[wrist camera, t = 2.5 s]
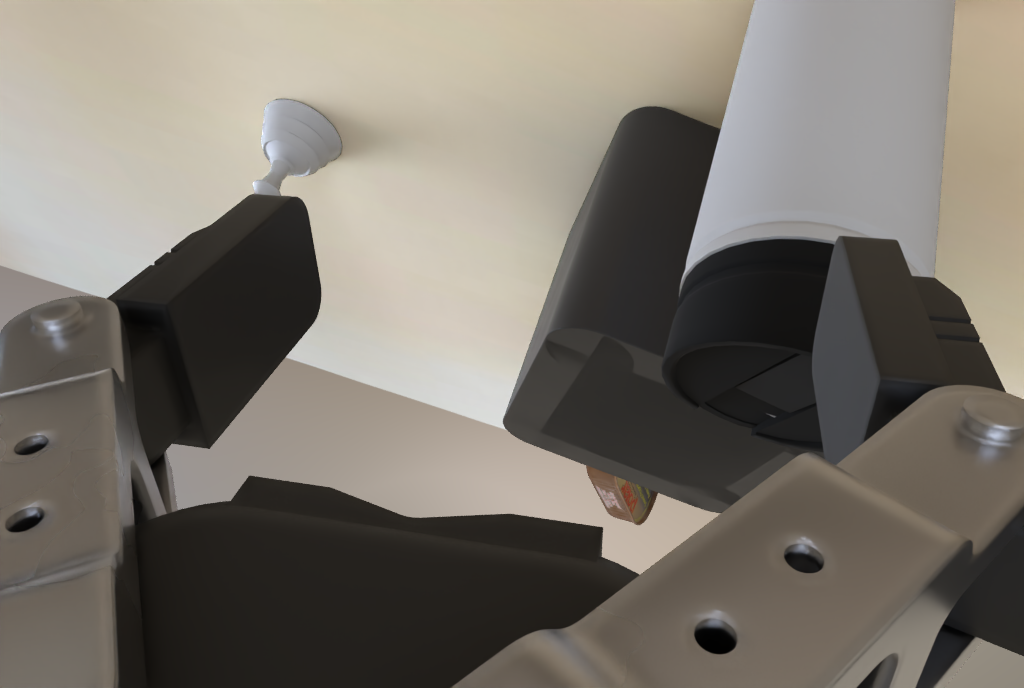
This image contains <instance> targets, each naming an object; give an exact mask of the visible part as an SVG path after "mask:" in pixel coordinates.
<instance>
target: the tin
mask: <svg viewBox="0 0 1024 688" xmlns="http://www.w3.org/2000/svg"><path fill="white" fill-rule="evenodd" d="M586 468H587V473H588V476H589V478H590V480H591V482H592V484H593V486H594V488H595V489H596V491H597V493H598V495H599V497H600V499H601V501H602V503H603V504H604V506H605V508H606V510H607V512H608V513H609V514H610V515H611V516H613V517H616V518H619V519H622V520H626V521H629V522H633V523H634V524H636V525H641V524H642V523H644V521H645V520H646V519H647V517H648V516H649V514H650V512H651V510H652V507H653V505H654V503H655V500H656V496H657V494H658V492H655V491H652V490H650V489H647V488H645V487H642V486H639V485H637V484H634V483H631V482H629V481H626V480H623V479H621V478H618V477H616V476H613V475H610V474H608V473H605V472H602V471H600V470H597V469H595V468H592V467H589V466H587V465H586Z"/></svg>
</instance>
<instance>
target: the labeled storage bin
mask: <svg viewBox="0 0 1024 688" xmlns="http://www.w3.org/2000/svg"><path fill="white" fill-rule="evenodd" d="M720 131H721V130H720V129H717V128H715V127H712V126H709V125H707V124H704V123H702V122H699V121H697V120H694V119H692V118H689V117H687V116H684V115H681V114H679V113H676V112H674V111H671V110H668V109H665V108H660V107H643V108H639V109H636V110H634V111H632V112H630V113H628V114H627V115H626V116H625V117H624V118H623V119H622V120H621V122H620V124H619V126H618V128H617V130H616V132H615V135H614V137H613V139H612V141H611V143H610V146H609V148H608V150H607V152H606V154H605V157H604V159H603V161H602V163H601V165H600V167H599V170H598V172H597V174H596V176H595V178H594V181H593V183H592V185H591V187H590V189H589V192H588V194H587V196H586V198H585V200H584V202H583V205H582V207H581V209H580V211H579V213H578V216H577V218H576V220H575V222H574V224H573V227H572V229H571V231H570V233H569V236H568V238H567V241H566V244H565V247H564V250H563V253H562V255H561V258H560V261H559V264H558V267H557V269H556V272H555V275H554V278H553V281H552V283H551V286H550V289H549V292H548V295H547V298H546V300H545V303H544V306H543V309H542V312H541V314H540V317H539V320H538V323H537V326H536V328H535V331H534V334H533V337H532V340H531V343H530V345H529V348H528V351H527V354H526V357H525V359H524V362H523V365H522V368H521V371H520V373H519V376H518V379H517V382H516V385H515V387H514V390H513V393H512V396H511V399H510V402H509V404H508V407H507V410H506V413H505V416H504V418H503V424H504V426H505V428H506V429H507V430H508V431H509V432H510V433H511V434H512V435H514V436H515V437H517V438H519V439H520V440H522V441H524V442H526V443H529V444H532V445H534V446H537V447H540V448H542V449H545V450H547V451H550V452H553V453H555V454H558V455H560V456H563V457H566V458H569V459H571V460H574V461H576V462H579V463H581V464H584V465H587V466H589V467H592V468H595V469H597V470H600V471H602V472H605V473H608V474H610V475H613V476H616V477H618V478H621V479H623V480H626V481H629V482H631V483H634V484H637V485H639V486H642V487H645V488H647V489H650V490H652V491H655V492H658V493H660V494H663V495H666V496H668V497H671V498H673V499H676V500H679V501H681V502H684V503H687V504H689V505H692V506H694V507H698V508H701V509H704V510H707V511H711V512H716V513H722V512H724V511H725V510H726V509H728V508H729V507H730V506H732V505H733V504H734V503H736V502H737V501H738V500H740V499H741V498H742V497H744V496H745V495H746V494H748V493H749V492H750V491H752V490H753V489H754V488H756V487H757V486H758V485H759V484H761V483H762V482H763V481H765V480H766V479H767V478H769V477H770V476H771V475H773V474H774V473H775V472H777V471H778V470H779V469H781V468H782V467H783V466H785V465H786V464H787V463H789V462H790V461H791V460H793V459H794V458H796V457H797V456H799V455H801V454H803V453H807V452H811V453H814V454H816V455H818V456H820V457H821V458H823V459H825V458H824V452H817V451H809V450H802V449H797V448H792V447H787V446H782V445H778V444H775V443H772V442H769V441H765V440H762V439H759V438H756V437H753V436H751V431H752V428H748V427H743V426H739V425H737V424H734V423H732V422H729V421H727V420H724V419H722V418H720V417H718V416H716V415H714V414H712V413H710V412H708V411H706V410H704V409H702V408H701V407H700V406H699V408H697V409H695V410H694V409H693V408H691V407H690V406H689V405H687V404H686V403H684V402H683V401H681V400H680V399H678V398H677V397H676V396H675V395H674V394H673V393H672V392H671V391H670V389H669V388H668V387H667V386H666V384H665V381H664V379H663V377H662V371H661V365H662V361H663V357H664V354H665V350H666V346H667V342H668V338H669V334H670V330H671V327H672V323H673V319H674V317H675V314H676V312H677V303H678V300H679V291H680V284H681V280H682V276H683V274H684V271H685V269H686V261H687V257H688V253H689V249H690V245H691V242H692V238H693V234H694V230H695V226H696V223H697V219H698V215H699V211H700V207H701V203H702V200H703V196H704V192H705V188H706V184H707V181H708V177H709V173H710V169H711V165H712V161H713V158H714V154H715V150H716V146H717V142H718V139H719V135H720Z"/></svg>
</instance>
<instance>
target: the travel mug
mask: <svg viewBox="0 0 1024 688" xmlns="http://www.w3.org/2000/svg"><path fill="white" fill-rule="evenodd" d="M954 13H955V0H755V1H754V5H753V9H752V13H751V16H750V20H749V24H748V28H747V32H746V35H745V39H744V43H743V47H742V51H741V55H740V58H739V62H738V66H737V70H736V74H735V77H734V81H733V85H732V89H731V93H730V97H729V100H728V104H727V108H726V112H725V116H724V119H723V123H722V127H721V131H720V135H719V139H718V142H717V146H716V150H715V154H714V158H713V161H712V165H711V169H710V173H709V177H708V181H707V184H706V188H705V192H704V196H703V200H702V203H701V207H700V211H699V215H698V219H697V223H696V226H695V230H694V234H693V238H692V242H691V245H690V249H689V253H688V257H687V261H686V269H685V271H684V274H683V276H682V280H681V284H680V291H679V300H678V303H677V312H676V314H675V317H674V319H673V323H672V327H671V330H670V334H669V338H668V342H667V346H666V350H665V354H664V357H663V361H662V365H661V371H662V377H663V379H664V381H665V384H666V386H667V387H668V388H669V389H670V391H671V392H672V393H673V394H674V395H675V396H676V397H677V398H678V399H680V400H681V401H683V402H684V403H686V404H687V405H689V406H690V407H691V408H693V409H694V410H695V409H697V408H699V406H700V407H701V408H702V409H704V410H706V411H708V412H710V413H712V414H714V415H716V416H718V417H720V418H722V419H724V420H727V421H729V422H732V423H734V424H737V425H739V426H743V427H748V428H752V431H751V436H753V437H756V438H759V439H762V440H765V441H769V442H772V443H775V444H778V445H782V446H787V447H792V448H797V449H802V450H809V451H817V452H824V451H823V444H822V437H821V431H820V424H819V417H818V410H817V404H816V397H815V390H814V383H813V376H812V354H813V344H814V338H815V332H816V327H817V322H818V318H819V313H820V308H821V304H822V299H823V294H824V290H825V285H826V280H827V276H828V271H829V266H830V262H831V257H832V253H833V249H834V245H835V243H836V240H837V238H838V237H839V236H852V237H866V238H881V239H895V240H897V241H898V242H899V245H900V247H901V250H902V252H903V255H904V257H905V260H906V262H907V265H908V267H909V270H910V272H911V275H912V276H920V277H933V278H934V273H935V260H936V247H937V234H938V221H939V208H940V195H941V182H942V169H943V156H944V143H945V130H946V117H947V104H948V91H949V78H950V65H951V52H952V39H953V26H954Z"/></svg>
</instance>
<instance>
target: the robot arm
mask: <svg viewBox="0 0 1024 688" xmlns="http://www.w3.org/2000/svg"><path fill="white" fill-rule="evenodd" d="M320 303H321V284H320V278H319V272H318V267H317V261H316V255H315V249H314V244H313V238H312V232H311V227H310V221H309V215H308V211H307V208H306V206H305V204H304V202H303V201H302V200H301V199H300V198H298V197H291V196H276V195H262V194H251V195H249V196H248V197H246V198H245V199H244V200H243V201H241V202H240V203H239V204H237V205H236V206H235V207H234V208H232V209H231V210H230V211H228V212H227V213H226V214H225V215H223V216H222V217H221V218H219V219H218V220H217V221H216V222H214V223H213V224H212V225H210V226H208V227H206V228H203V229H201V230H199V231H196V232H194V233H192V234H190V235H189V236H188V237H186V238H185V239H184V240H182V241H181V242H180V243H178V244H177V245H176V246H175V247H173V248H172V249H171V253H169V252H167V253H165V254H164V255H163V256H162V257H160V258H159V259H158V260H156V261H155V265H150V266H149V267H147V268H146V269H145V270H143V271H142V272H141V273H139V274H138V275H137V276H135V277H134V278H133V279H132V280H130V281H129V282H128V283H126V284H125V285H124V286H122V287H121V288H120V289H119V290H117V291H116V292H115V293H113V294H112V295H111V296H109V297H108V298H107V299H105V298H101V297H95V296H79V297H69V298H63V299H58V300H54V301H50V302H47V303H44V304H41V305H38V306H35V307H33V308H31V309H29V310H27V311H24V312H23V313H21V314H19V315H17V316H16V317H14V318H13V319H12V320H10V321H9V322H8V323H7V324H6V325H5V326H4V327H3V329H2V330H1V333H0V688H945V687H946V685H947V684H948V683H949V682H950V680H951V679H952V678H953V677H954V676H955V674H956V673H957V672H958V670H959V669H960V668H961V667H962V665H964V663H965V662H966V661H967V660H968V658H969V657H970V656H971V655H972V653H973V652H974V651H975V650H976V648H977V647H978V646H979V645H980V644H981V642H982V640H985V641H987V642H990V643H992V644H995V645H998V646H1000V647H1002V648H1005V649H1007V650H1010V651H1012V652H1015V653H1018V654H1020V655H1022V656H1024V399H1021V398H1019V397H1016V396H1014V395H1011V394H1009V393H1006V391H1005V389H1004V387H1003V385H1002V383H1001V381H1000V379H999V377H998V375H997V373H996V370H995V368H994V366H993V364H992V362H991V360H990V358H989V356H988V354H987V352H986V350H985V348H984V346H983V344H982V343H980V342H979V339H980V337H979V335H978V333H977V331H976V329H975V327H974V325H973V324H971V319H970V317H969V315H968V312H967V310H966V308H965V306H964V304H963V302H962V300H961V298H960V297H959V296H957V295H956V294H955V293H954V292H952V291H951V290H950V289H948V288H947V287H946V286H945V285H943V284H942V283H941V282H939V281H938V280H937V279H936V278H933V277H920V276H912V275H911V272H910V270H909V267H908V265H907V262H906V260H905V257H904V255H903V252H902V250H901V247H900V245H899V242H898V241H897V240H895V239H881V238H866V237H852V236H839V237H838V238H837V240H836V243H835V245H834V249H833V253H832V257H831V262H830V266H829V271H828V276H827V280H826V285H825V290H824V294H823V299H822V304H821V308H820V313H819V318H818V322H817V327H816V332H815V338H814V344H813V354H812V376H813V383H814V390H815V397H816V404H817V410H818V417H819V424H820V431H821V437H822V444H823V451H824V458H825V459H823V458H821V457H820V456H818V455H816V454H814V453H811V452H807V453H803V454H801V455H799V456H797V457H796V458H794V459H793V460H791V461H790V462H789V463H787V464H786V465H785V466H783V467H782V468H781V469H779V470H778V471H777V472H775V473H774V474H773V475H771V476H770V477H769V478H767V479H766V480H765V481H763V482H762V483H761V484H759V485H758V486H757V487H756V488H754V489H753V490H752V491H750V492H749V493H748V494H746V495H745V496H744V497H742V498H741V499H740V500H738V501H737V502H736V503H734V504H733V505H732V506H730V507H729V508H728V509H726V510H725V511H724V512H722V513H721V514H720V515H719V516H718V517H716V518H715V519H713V520H712V521H711V522H709V523H708V524H707V525H705V526H704V527H703V528H702V529H700V530H699V531H698V532H696V533H695V534H693V535H692V536H691V537H689V538H688V539H687V540H686V541H684V542H683V543H682V544H680V545H679V546H678V547H676V548H675V549H674V550H672V551H671V552H670V553H668V554H667V555H666V556H664V557H663V558H662V559H660V560H659V561H658V562H656V563H655V564H654V565H652V566H651V567H650V568H649V569H647V570H646V571H645V572H643V573H642V574H641V575H639V574H637V573H635V572H633V571H631V570H629V569H627V568H625V567H624V566H621V565H619V564H618V563H615V562H613V561H610V560H608V559H605V558H603V557H601V556H602V537H603V528H602V527H596V526H590V525H583V524H576V523H569V522H561V521H556V520H549V519H541V518H534V517H528V516H521V515H515V514H496V515H475V516H451V517H429V518H412V517H406V516H403V515H400V514H397V513H395V512H392V511H390V510H387V509H384V508H382V507H379V506H377V505H374V504H372V503H369V502H366V501H364V500H361V499H359V498H356V497H353V496H351V495H348V494H346V493H343V492H341V491H338V490H335V489H333V488H330V487H323V486H316V485H310V484H303V483H296V482H289V481H282V480H275V479H269V478H262V477H255V476H249V477H248V478H247V480H246V481H245V482H244V484H243V485H242V486H241V488H240V489H239V490H238V492H237V493H236V495H235V496H234V497H233V499H232V500H231V501H226V502H217V503H210V504H203V505H199V506H194V507H190V508H186V509H181V510H178V509H177V503H176V495H175V488H174V482H173V475H172V469H171V466H170V462H169V459H168V457H167V454H166V450H167V448H168V447H169V446H170V445H171V444H179V445H187V446H194V447H201V448H208V449H210V447H211V446H212V445H213V444H214V443H215V441H216V440H217V439H218V438H219V437H220V435H221V434H222V433H223V432H224V431H225V429H226V428H227V427H228V426H229V425H230V423H231V422H232V421H233V420H234V419H235V417H236V416H237V415H238V414H239V413H240V411H241V410H242V409H243V408H244V407H245V405H246V404H247V403H248V402H249V400H250V399H251V398H252V397H253V396H254V394H255V393H256V392H257V391H258V390H259V388H260V387H261V386H262V385H263V384H264V382H265V381H266V380H267V379H268V378H269V376H270V375H271V374H272V373H273V372H274V370H275V369H276V368H277V367H278V365H279V364H280V363H281V362H282V360H283V359H284V358H285V357H286V356H287V355H288V353H289V352H290V351H291V350H292V349H293V347H294V346H295V345H296V344H297V343H298V341H299V340H300V339H301V338H302V336H303V335H304V334H305V333H306V332H307V330H308V329H309V328H310V327H311V326H312V324H313V323H314V322H315V320H316V318H317V315H318V312H319V309H320Z"/></svg>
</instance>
